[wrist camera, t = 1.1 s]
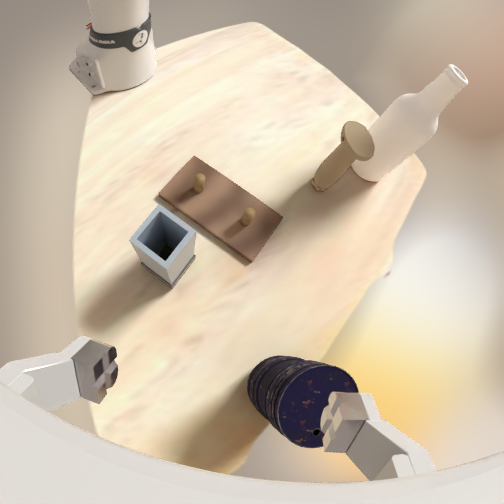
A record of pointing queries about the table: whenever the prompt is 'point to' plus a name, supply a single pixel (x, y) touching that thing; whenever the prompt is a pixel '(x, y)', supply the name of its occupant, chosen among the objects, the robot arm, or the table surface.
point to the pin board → (221, 207)
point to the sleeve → (157, 237)
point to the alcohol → (409, 124)
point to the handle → (344, 155)
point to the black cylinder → (296, 395)
